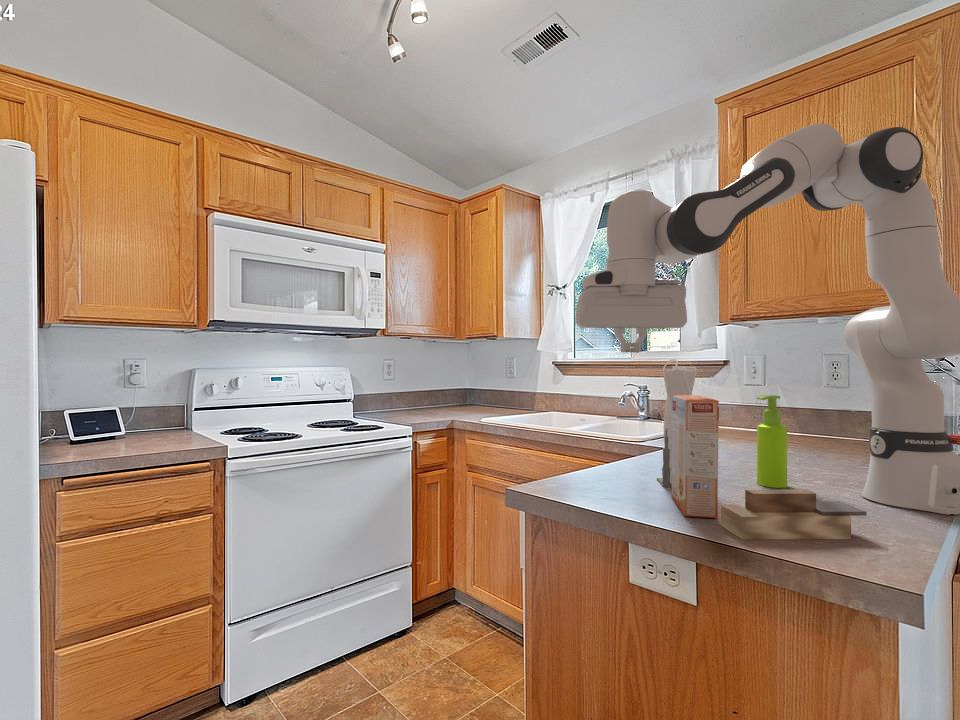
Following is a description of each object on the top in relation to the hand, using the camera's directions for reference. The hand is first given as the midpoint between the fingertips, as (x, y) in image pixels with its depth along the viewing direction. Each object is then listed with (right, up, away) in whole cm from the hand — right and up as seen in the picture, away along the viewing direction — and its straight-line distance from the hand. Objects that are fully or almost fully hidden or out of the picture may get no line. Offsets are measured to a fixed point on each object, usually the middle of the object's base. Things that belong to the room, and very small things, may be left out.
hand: (630, 352), depth 98 cm
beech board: (+21, -29, -14) cm, 38 cm away
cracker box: (+12, -29, 0) cm, 32 cm away
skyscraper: (+17, -29, +20) cm, 39 cm away
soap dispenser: (+37, -30, +19) cm, 50 cm away
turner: (+24, -26, -14) cm, 37 cm away
